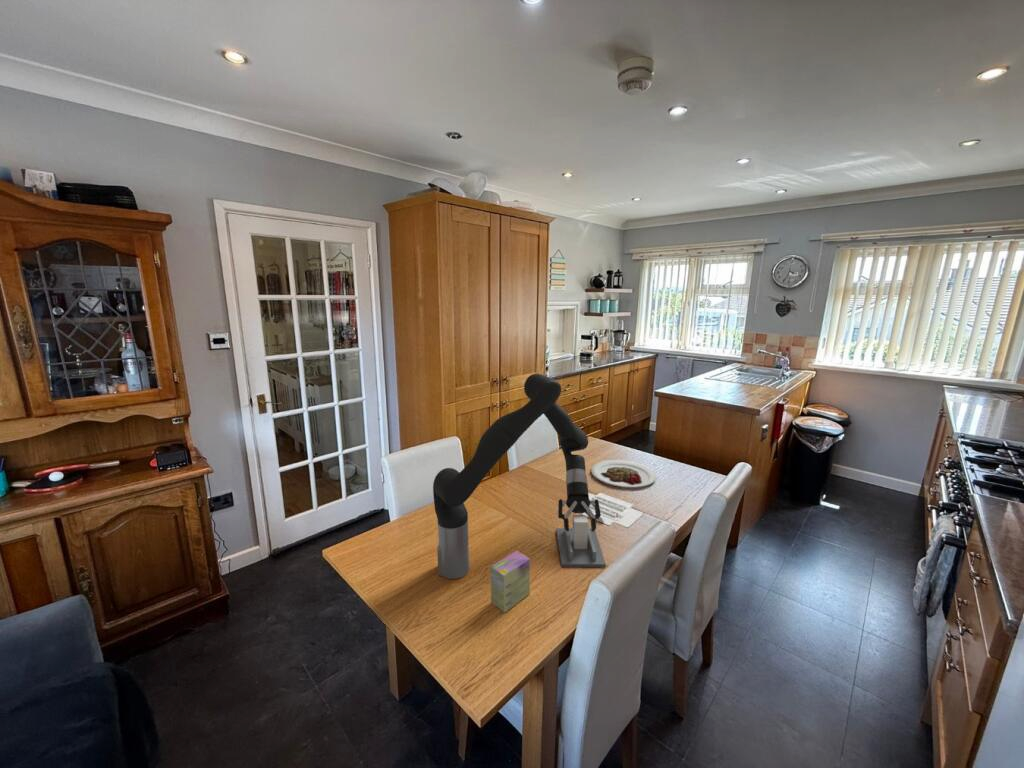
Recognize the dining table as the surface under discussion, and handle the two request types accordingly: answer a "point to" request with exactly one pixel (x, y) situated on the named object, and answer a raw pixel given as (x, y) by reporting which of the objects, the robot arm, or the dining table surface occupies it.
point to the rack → (579, 550)
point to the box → (510, 580)
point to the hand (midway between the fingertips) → (580, 531)
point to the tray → (614, 510)
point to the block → (579, 531)
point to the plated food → (623, 473)
